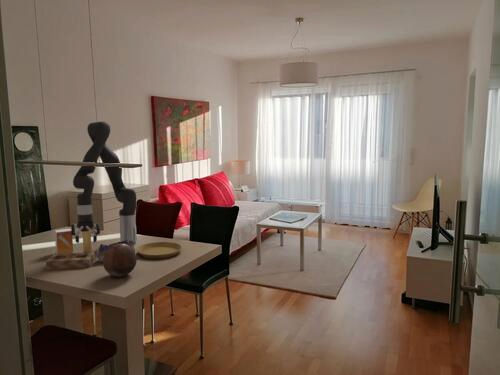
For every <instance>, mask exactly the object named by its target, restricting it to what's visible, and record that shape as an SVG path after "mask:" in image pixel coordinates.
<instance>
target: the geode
mask: <svg viewBox="0 0 500 375" xmlns="http://www.w3.org/2000/svg"><path fill="white" fill-rule="evenodd" d="M116 244H125V245H128V246H130V247H131V248H132V249H133V250H134V251H135V252H136V249H135V247H134V246H135V243H134V242H133V241H129V242H128V241H127V240H126V241H118V242H113V243H110V244H108V245H107V244H103V243H101V244H100V245H99V248H98V250H97V254H96V255H97V258H98V261H97V262H98V263H101V264H103V256H104V254H105V252H106V251H107V249H109V248H110V247H111V246H113V245H116Z"/></svg>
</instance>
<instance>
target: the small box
mask: <svg viewBox="0 0 500 375" xmlns="http://www.w3.org/2000/svg"><path fill="white" fill-rule="evenodd" d="M54 239H55V240H54V241H55V254H69V253H74V242H73V235H71V228H61V229H55V230H54Z"/></svg>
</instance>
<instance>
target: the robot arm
mask: <svg viewBox="0 0 500 375" xmlns="http://www.w3.org/2000/svg"><path fill="white" fill-rule="evenodd" d="M87 133H88V136H89V139H90V140H91V142H92V145H91V146H90V147H89V148H88V150H87V151H86V153H85V155H84V156H83V160H82V162H95V163H98V161H99V158H100V160H101V162H102V164H103V163H121V162H120V158H119V156H118V155H117V153H115V152H114V151H113V150H112V149H111V148H110V146H108V144H107V141H108V138H109V137H110V134H111V126H110V124H109V123H108V122H106V121H95V122H94V121H93V122H90V123H88V125H87ZM103 168H104V170H105V172H106V174H107V176H108V179H109V181H110V183H111V187H112V189H113V193H114V196H115V199H116V201H117V202H119V203H121V204H122V208H121V209H119V212H118V216H119V218H118V219H119V234H120V236H119V238H120V240H119V242H121V241H126V240H127V241H128V242H129V241H133V242H134V244H136V243H137V240H138V236H137V225H136V224H137V223H136V210H137V194H136V191H135V190H134V189H132V188H129V187H126V186H125V183H124V181H123V179H122V178H123V176H122V175H123V167H122V168H119V167H104V166H103ZM95 171H96V167H94V166H80V167H79V169H78V171H77V172H76V174H75V175H74V177H73V180H72V186H73V187H74V188H75V189H79V190H83V191H82V193H78V194H77V197H76V198H77V199H76V200H77V201H76V202H77V210H76V214H77V223H74V222H73V223H72V224H71V225H70V226H71V228H70V229H71V235H72V236H74V238H75V243H77V244H79V243H80V236H79V235H80V233H81V232H82V233H83V231H90V232H91V235H93V236H92V237H93V238H92V239H93V243H96V242H97V240H98V238H97V236H98V235H100V234H101V228H100V227H101V226H100V223H99V222H97V223H94V218H93V216H94V214H93V213H94V212H93V211H94V210H93V206H92V205H93V204H92V203H93V202H92V199H93V198H92V195H93V191H94V187H95V180H94V177H92V176H91V175H90V174H94V172H95ZM94 227H95V228H96V231H95V229H94ZM77 228H78V230H77V231H76V229H77Z"/></svg>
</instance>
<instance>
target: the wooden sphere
mask: <svg viewBox="0 0 500 375" xmlns="http://www.w3.org/2000/svg"><path fill="white" fill-rule="evenodd" d="M136 253H137V252H136V250H135V251H134V250H133V249H132V248H131V247H130V246H128V245H125V244H116V245H113V246H111V247H110V248H109V249H107V251H106V252H105V254H104V256H103V263H102V266H103V268H104V270H105V271H106V272H107V274H109V275H111V276H112V277H117V278H118V277H119V278H120V277H124V276H127V275H129V274H130V273H132V271H133V270H134V269H135V267H136V265H137V260H138V259H137V254H136Z"/></svg>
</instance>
